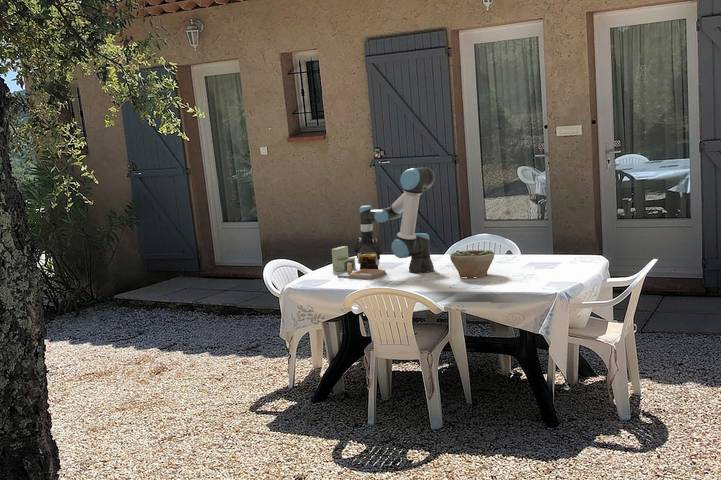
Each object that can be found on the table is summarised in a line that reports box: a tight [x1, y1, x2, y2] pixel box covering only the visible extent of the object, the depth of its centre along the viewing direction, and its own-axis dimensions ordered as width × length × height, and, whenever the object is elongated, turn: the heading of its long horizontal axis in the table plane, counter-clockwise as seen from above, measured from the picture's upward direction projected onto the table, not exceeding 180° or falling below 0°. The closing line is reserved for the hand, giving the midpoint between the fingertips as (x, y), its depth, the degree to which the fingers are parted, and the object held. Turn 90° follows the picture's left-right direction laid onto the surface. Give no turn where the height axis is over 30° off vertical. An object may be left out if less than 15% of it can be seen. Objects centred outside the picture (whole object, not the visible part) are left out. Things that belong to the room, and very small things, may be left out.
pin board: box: [337, 263, 388, 280], centre depth 473 cm, size 25×16×7 cm, turn 55°
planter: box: [449, 249, 495, 279], centre depth 450 cm, size 26×25×15 cm
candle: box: [359, 253, 379, 270], centre depth 488 cm, size 10×10×10 cm
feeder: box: [331, 245, 357, 273], centre depth 497 cm, size 9×12×14 cm
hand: (368, 264), depth 489 cm, fingers open, 13 cm apart
